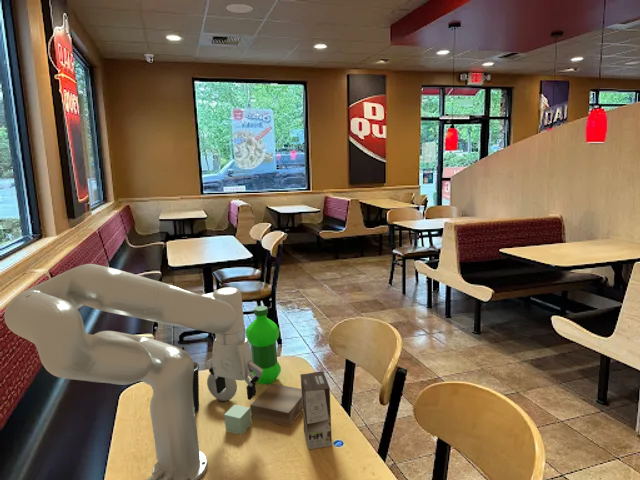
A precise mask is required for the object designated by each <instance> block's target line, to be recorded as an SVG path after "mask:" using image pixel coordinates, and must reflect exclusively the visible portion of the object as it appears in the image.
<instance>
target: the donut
mask: <svg viewBox="0 0 640 480" xmlns="http://www.w3.org/2000/svg"><path fill="white" fill-rule="evenodd" d="M206 383H207V389H208V391H209V393H210V394H211V396H213V397H214V398H216V400H219V401H225V402H227V401H230V400H231V399H233V398H234V397H235V395H236V393H237V389H238V384H237V380H234V379H229V378H225V385H226V388H225V389H224V390H223V391H222V392H221V393H217V389H216V381H215V379H213V375H212V374H211V373H210V372H209V375H208V376H207V381H206Z"/></svg>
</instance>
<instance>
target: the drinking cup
mask: <svg viewBox="0 0 640 480" xmlns="http://www.w3.org/2000/svg"><path fill="white" fill-rule="evenodd" d="M181 349H182V350H184V351H185V352H186V350H185V346H181ZM193 363H194V375H193V402H194V409H195V414H197V413H198V412H199V409H200V392H199V390H200V389H199V388H200V384H199V380H200V378H199V368H200V365H199V363H198V362H196V361H193Z"/></svg>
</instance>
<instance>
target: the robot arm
mask: <svg viewBox="0 0 640 480" xmlns="http://www.w3.org/2000/svg"><path fill="white" fill-rule="evenodd" d="M83 306H86V307H89V308H92V309H95V310H97V311H101V312H106V313H112V314H116V315H121V316H126V317H132V318H137V319H141V320H145V321H148V322H149V321H150V322H155V323H158V324H163V325H168V326H169V325H170V326H176V327H177V326H178V327H183V328H188V329H192V330H197V331H201V332H207V333H210V334H214V335H215V338H214V340H213V345H212V356H211V358H210V359H207V360H206V361H205V365H206V367H207V368H208V371H209V374H210V373H211V374H212V375H213V379H215V381H216V389H217V393H221V392H222V391H223V390H224V389H226V385H225V378H229V379H234V380H236V381H245V383H246V384H247V385H246V394H247V400H249V401H251V400H252V399H253V398H254V397H255V396H256V395H257V384H256V383H258V382H257V381H258V380H259V379H260V378H261V375H262V373H263V369H261V368H260V367H258V366H257V365H256V364H254V363H253V361H252V350H251V345H250V343H249V341H248V340H247V337H246V329H245V319H244V311H243V310H244V308H243V297H242V292H241V290H240V289H238V288H236V287H229V286H228V287H222V288H219V289H216V290H215V291H213V292H209V293H205V294H198V293H195V292H191V291H189V290H185V289H184V288H180V287H178V286H175V285H172V284H169V283H165V282H162V281H158V280H156V279H151V278H148V277H145V276H142V275H138V274H134V273H132V272H127V271H124V270H120V269H117V268H113V267H108V266H103V265H99V264H96V263H95V264H94V263H85V264H81V265H78V266H75V267H73V268H70V269H68V270H66V271H64V272H62V273H60V274H57V275H55V276H53V277H51V278H49V279H47V280H45V281H43V282H40V283H38V284H36V285H33V286H32V287H30V288H28V289H25V290H23V291H21V292H20V293H18V294H17V295H16V296H14V297H13V298H12V299H11V301H9V303H8V304H7V306H6V308H5V310H4V316H3V317H4V323H5V325H6V326H7V328H8V329H9V330H10V331H11V332H12V333H13V334H15V335H17V337H20V338H23V339H24V340H27V341H29V342H31V344H34V345H35V347H36V351H37V353H38V357H39V359H40V363H41V364H42V366H43V367H44V368H45V370H46V371H47V372H48V373H49V374H51V375H52V376H54V377H56V378H61V379H66V380H76V381H86V382H91V383H103V384H104V383H105V384H112V385H123V386H124V385H125V386H126V385H132V384H135V383H137V382H139V381H140V382H143V383H144V384H146V385H149V386H150V387H151V388H152V397H151V399H150V403H149V413H150V419H151V424H152V430H153V431H152V432H153V433H152V434H153V439H154V447H155V452H156V453H155V455H156V461H157V462H156V463H154V465H153V468H152V471H151V476H150V477H148V478H147V479H146V480H199V479H201V478H202V477H203V476H204V475H205V473H206V471H207V469H208V459H207V456H206V454H205V453H204V452H202V451H200V445H199V436H198V428H197V421H196V420H197V419H196V413H195V409H194V402H193V375H194V363H193V362H194V361H193V358H192V357H191V355H190V354H189V353H188V352H187V351H186V350H185V349H184V350H185V351H184V350H182V348H180V347H178V346H175V345H173V344H169V343H167V342H163V341H160V340H158V339H155V338H152V337H147V336H146V337H145V336H140V335H137V334H132V333H131V334H130V333H125V332H120V331H114V330H102V331H98V332H95V333H94V334H90V333H89V334H88V332H87V331H86V328H85V324H84V321H83V318H82V315H81V313H80V311H79V309H81V308H82V307H83ZM253 371H254V372H255V373H256V375H254V374H253V373H252V372H253Z"/></svg>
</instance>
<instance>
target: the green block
mask: <svg viewBox="0 0 640 480" xmlns="http://www.w3.org/2000/svg"><path fill="white" fill-rule="evenodd" d="M223 417H224V426H225V427H224V428H225V431H226V432H229V433H233V434H237V435H240V436H241V435H243V434H244V433H245V432H246V431H247V429H248V428H249V427H250V426H251V425H252V417H251V407H248V406H243V405H238V404H233V405H232V406H231V407H230V408H229V409H228V410H227V411H226V412H225V413H224V416H223Z"/></svg>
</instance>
